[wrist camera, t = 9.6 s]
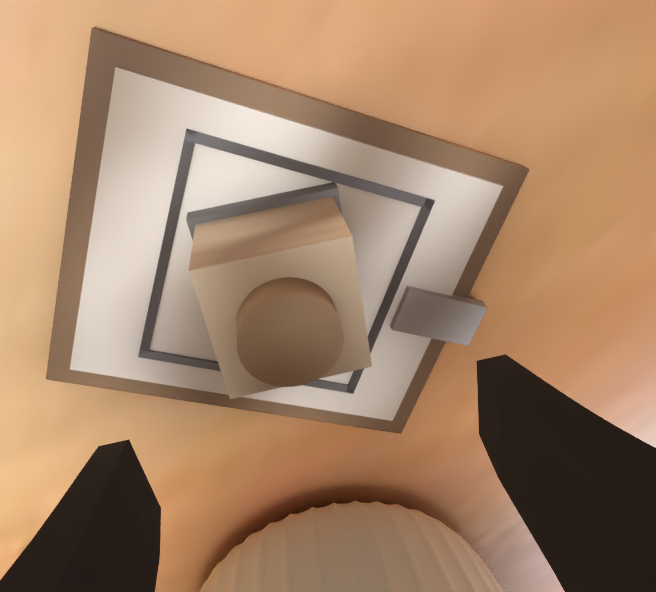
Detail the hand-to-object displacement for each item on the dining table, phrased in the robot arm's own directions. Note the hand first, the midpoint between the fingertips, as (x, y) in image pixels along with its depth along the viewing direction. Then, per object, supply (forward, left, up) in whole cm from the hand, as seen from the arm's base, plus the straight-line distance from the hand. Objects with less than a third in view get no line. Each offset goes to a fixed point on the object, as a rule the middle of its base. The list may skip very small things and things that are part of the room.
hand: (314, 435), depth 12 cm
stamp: (0, 0, -7) cm, 7 cm away
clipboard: (0, 0, -8) cm, 8 cm away
